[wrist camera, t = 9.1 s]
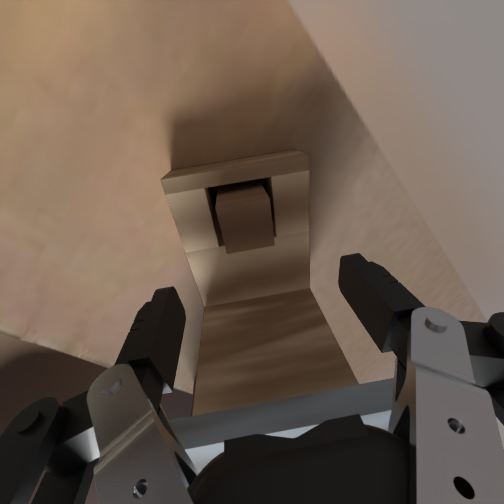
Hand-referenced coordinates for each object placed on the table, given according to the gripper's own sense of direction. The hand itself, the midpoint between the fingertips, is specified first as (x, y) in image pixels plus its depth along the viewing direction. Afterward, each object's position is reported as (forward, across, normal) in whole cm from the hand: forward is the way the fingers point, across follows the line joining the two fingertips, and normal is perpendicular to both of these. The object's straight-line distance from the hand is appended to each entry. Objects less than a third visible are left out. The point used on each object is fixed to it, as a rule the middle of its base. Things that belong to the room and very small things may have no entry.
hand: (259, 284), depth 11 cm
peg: (+14, 0, 0) cm, 14 cm away
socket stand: (+14, 0, +4) cm, 15 cm away
